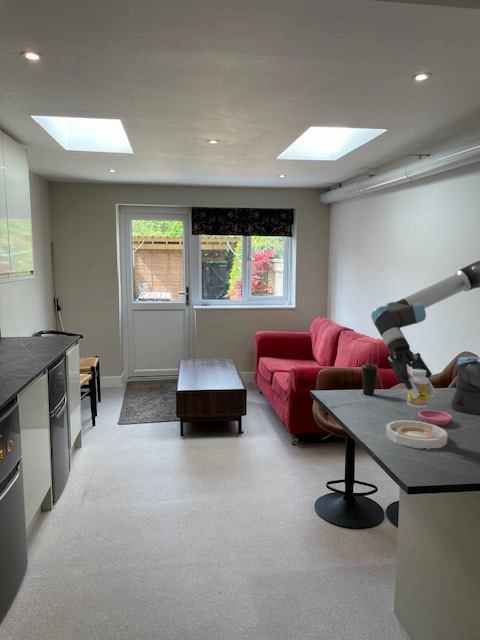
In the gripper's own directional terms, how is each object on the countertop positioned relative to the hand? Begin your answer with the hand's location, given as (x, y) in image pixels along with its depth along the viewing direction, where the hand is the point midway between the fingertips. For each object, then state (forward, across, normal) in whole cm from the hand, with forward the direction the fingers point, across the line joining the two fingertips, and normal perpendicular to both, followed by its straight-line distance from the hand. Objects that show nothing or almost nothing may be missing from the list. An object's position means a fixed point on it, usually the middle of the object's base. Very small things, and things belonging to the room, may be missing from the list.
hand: (425, 395), depth 161 cm
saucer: (+1, -20, -22) cm, 30 cm away
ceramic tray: (+9, 0, -14) cm, 17 cm away
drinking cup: (-28, -20, -52) cm, 62 cm away
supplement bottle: (+1, 0, -6) cm, 6 cm away
